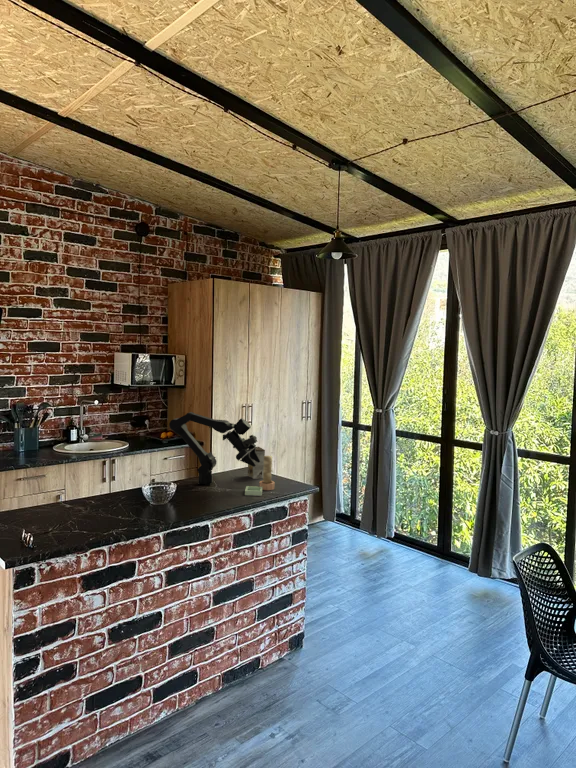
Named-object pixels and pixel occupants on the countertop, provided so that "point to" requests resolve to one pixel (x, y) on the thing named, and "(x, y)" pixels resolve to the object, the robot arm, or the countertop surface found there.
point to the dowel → (267, 469)
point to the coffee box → (257, 465)
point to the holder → (267, 485)
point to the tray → (253, 490)
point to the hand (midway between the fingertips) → (257, 464)
